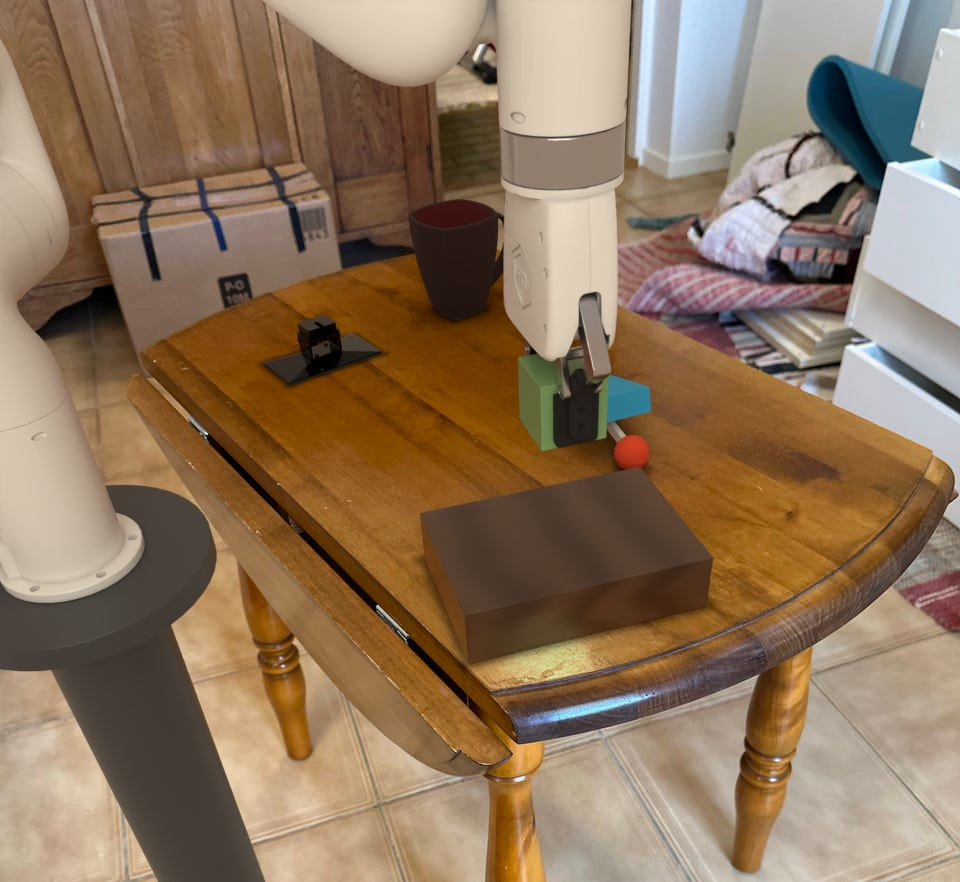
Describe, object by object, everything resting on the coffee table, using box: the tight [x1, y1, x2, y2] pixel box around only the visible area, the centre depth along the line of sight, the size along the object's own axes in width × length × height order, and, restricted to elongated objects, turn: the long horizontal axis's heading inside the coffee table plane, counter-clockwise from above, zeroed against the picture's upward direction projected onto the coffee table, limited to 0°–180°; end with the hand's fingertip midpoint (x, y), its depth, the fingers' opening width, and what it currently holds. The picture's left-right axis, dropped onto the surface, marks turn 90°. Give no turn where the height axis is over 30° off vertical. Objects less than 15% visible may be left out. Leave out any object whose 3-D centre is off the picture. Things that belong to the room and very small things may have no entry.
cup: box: [407, 198, 504, 321], centre depth 117 cm, size 10×14×12 cm
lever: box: [607, 374, 652, 470], centre depth 95 cm, size 7×7×18 cm
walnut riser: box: [419, 467, 714, 665], centre depth 76 cm, size 20×14×5 cm
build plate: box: [263, 314, 382, 386], centre depth 110 cm, size 12×7×5 cm, turn 125°
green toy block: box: [517, 345, 609, 452], centre depth 67 cm, size 5×5×5 cm
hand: (561, 421), depth 68 cm, fingers closed on green toy block, 5 cm apart
